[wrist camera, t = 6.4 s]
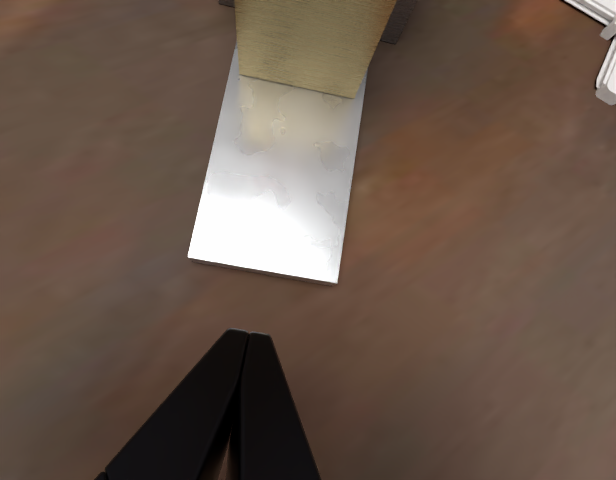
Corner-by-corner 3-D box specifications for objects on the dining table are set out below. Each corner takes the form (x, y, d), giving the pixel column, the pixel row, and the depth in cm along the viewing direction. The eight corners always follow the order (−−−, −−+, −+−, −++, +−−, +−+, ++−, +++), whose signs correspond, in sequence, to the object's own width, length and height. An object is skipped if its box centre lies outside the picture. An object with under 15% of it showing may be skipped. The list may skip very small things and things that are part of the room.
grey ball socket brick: (363, 291, 21) (455, 263, 11) (157, 255, 20) (67, 192, 10) (407, -52, 26) (498, -277, 16) (242, -94, 25) (234, -358, 15)
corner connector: (513, 56, 26) (530, 38, 24) (556, -32, 28) (574, -54, 26) (622, 120, 26) (646, 107, 24) (658, 28, 28) (682, 10, 26)
